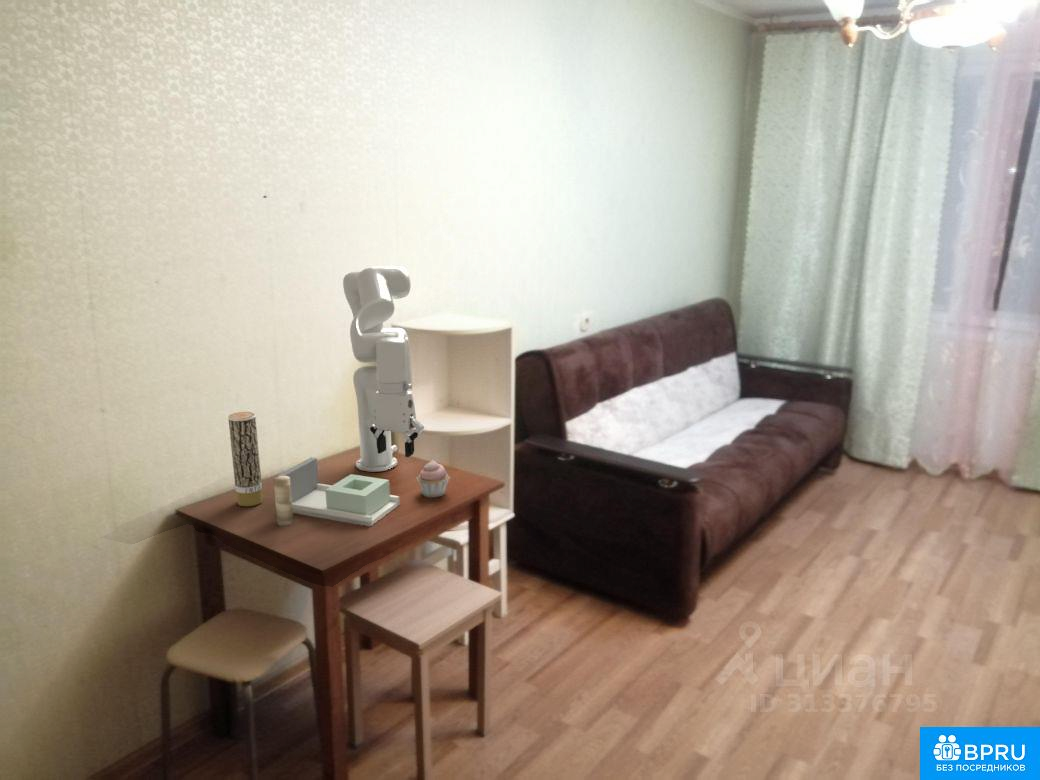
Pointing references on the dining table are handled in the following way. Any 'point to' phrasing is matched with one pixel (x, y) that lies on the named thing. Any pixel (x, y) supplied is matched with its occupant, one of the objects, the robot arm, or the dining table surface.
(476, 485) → the dining table surface
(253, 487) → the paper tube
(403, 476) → the dining table surface
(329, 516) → the rail base
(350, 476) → the slide block
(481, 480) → the dining table surface
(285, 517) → the dowel
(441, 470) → the cupcake
